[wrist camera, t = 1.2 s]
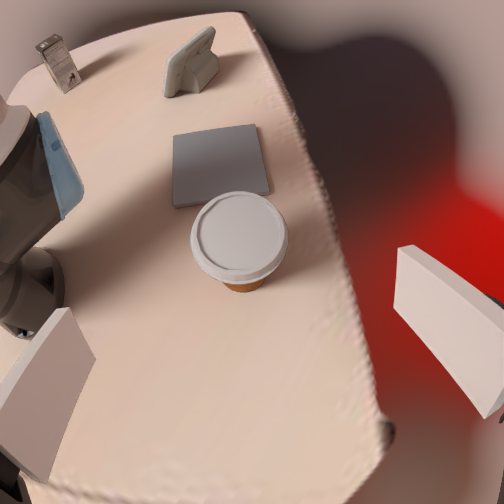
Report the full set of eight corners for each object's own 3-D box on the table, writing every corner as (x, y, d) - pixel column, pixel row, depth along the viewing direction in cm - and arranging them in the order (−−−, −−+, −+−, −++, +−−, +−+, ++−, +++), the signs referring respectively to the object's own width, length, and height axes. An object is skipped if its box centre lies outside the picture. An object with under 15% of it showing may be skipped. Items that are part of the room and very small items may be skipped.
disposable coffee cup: (264, 226, 40) (267, 176, 29) (290, 290, 37) (305, 259, 26) (198, 248, 39) (177, 204, 28) (219, 315, 36) (203, 295, 25)
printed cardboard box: (56, 86, 57) (34, 46, 42) (74, 73, 59) (54, 32, 44) (63, 94, 55) (40, 51, 40) (83, 80, 57) (62, 36, 41)
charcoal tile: (174, 208, 41) (172, 205, 41) (174, 139, 46) (173, 135, 45) (269, 194, 42) (269, 191, 41) (254, 127, 47) (254, 124, 46)
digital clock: (202, 59, 56) (197, 22, 46) (233, 67, 54) (231, 28, 44) (153, 95, 51) (140, 56, 42) (183, 106, 50) (173, 63, 40)
